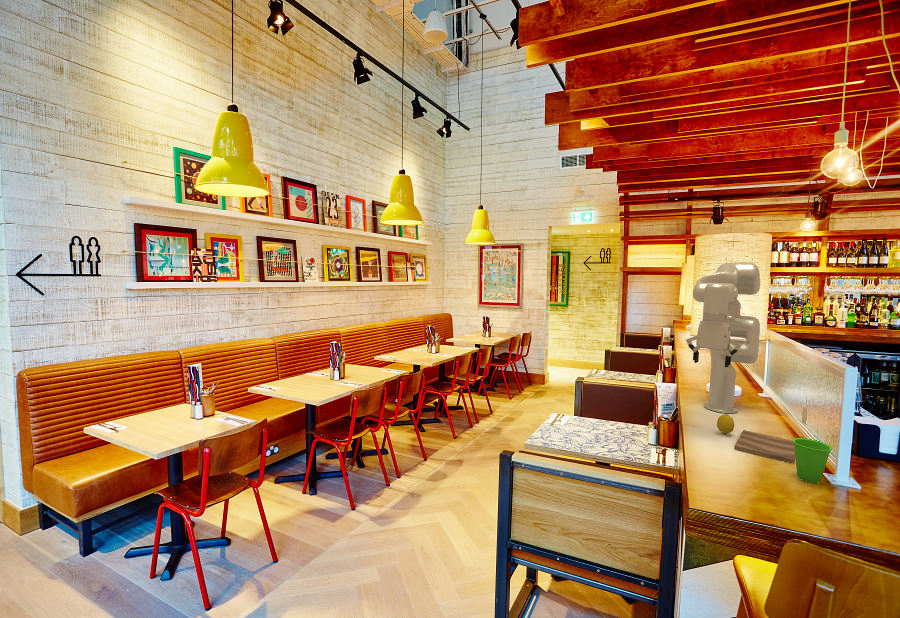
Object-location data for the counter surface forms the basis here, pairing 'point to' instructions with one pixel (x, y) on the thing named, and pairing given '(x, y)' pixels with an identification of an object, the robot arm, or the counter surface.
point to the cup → (810, 458)
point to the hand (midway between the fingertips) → (711, 364)
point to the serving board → (766, 446)
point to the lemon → (725, 424)
